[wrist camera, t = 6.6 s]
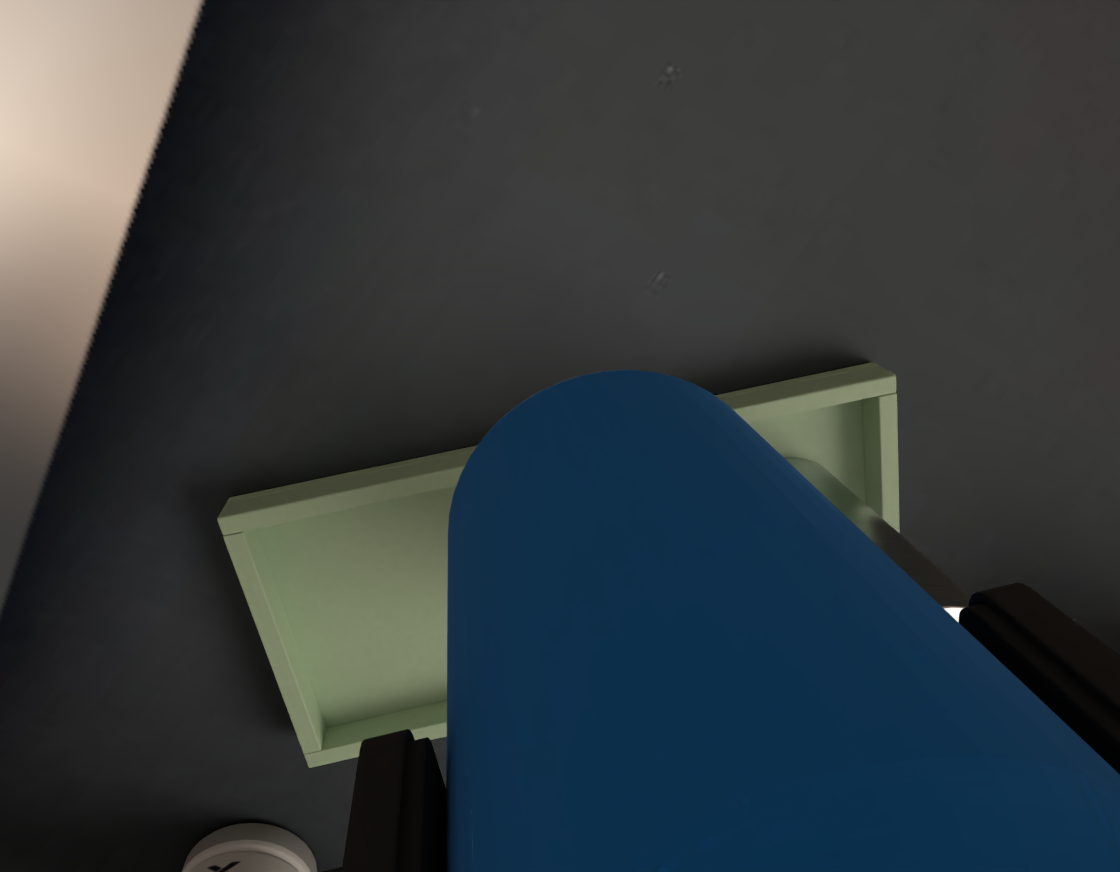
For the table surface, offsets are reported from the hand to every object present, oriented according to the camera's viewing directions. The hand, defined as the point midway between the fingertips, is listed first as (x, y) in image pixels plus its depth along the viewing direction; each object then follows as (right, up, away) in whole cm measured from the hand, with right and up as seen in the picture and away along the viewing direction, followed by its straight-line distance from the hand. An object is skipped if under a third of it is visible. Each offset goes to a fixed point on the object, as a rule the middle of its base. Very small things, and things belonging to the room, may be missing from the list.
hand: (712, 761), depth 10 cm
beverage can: (-1, +3, +7) cm, 7 cm away
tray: (-1, -1, +26) cm, 26 cm away
